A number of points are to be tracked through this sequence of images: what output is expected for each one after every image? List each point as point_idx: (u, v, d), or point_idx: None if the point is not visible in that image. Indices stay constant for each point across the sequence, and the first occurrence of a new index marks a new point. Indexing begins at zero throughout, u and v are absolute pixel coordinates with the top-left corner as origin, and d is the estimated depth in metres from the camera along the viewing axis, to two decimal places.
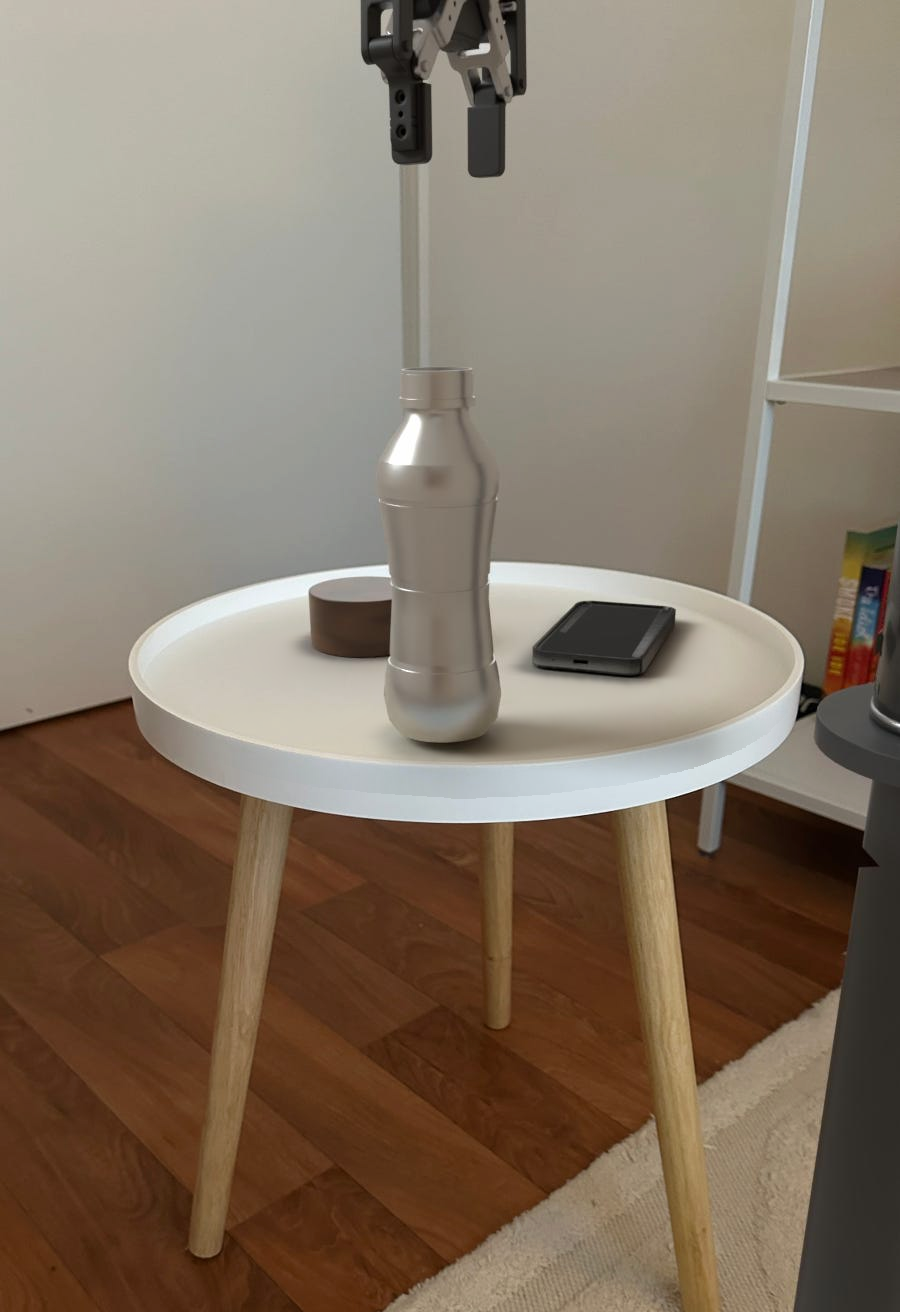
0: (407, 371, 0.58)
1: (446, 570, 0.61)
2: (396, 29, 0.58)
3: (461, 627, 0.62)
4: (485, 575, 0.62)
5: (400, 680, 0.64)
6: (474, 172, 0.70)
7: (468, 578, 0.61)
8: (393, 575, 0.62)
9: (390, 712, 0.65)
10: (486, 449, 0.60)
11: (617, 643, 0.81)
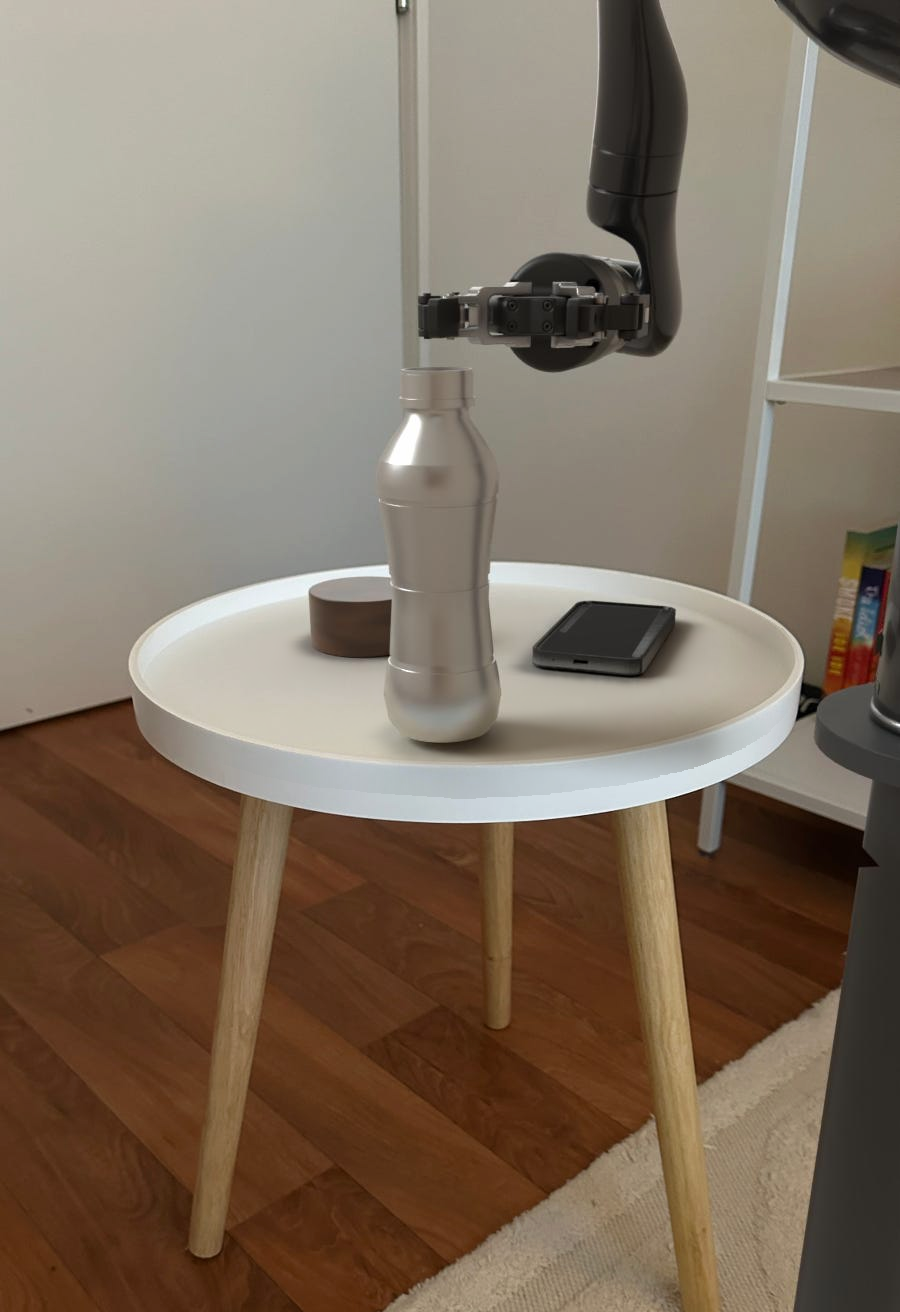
0: (407, 371, 0.58)
1: (446, 570, 0.61)
2: None
3: (461, 627, 0.62)
4: (485, 575, 0.62)
5: (400, 680, 0.64)
6: None
7: (468, 578, 0.61)
8: (393, 575, 0.62)
9: (390, 712, 0.65)
10: (486, 449, 0.60)
11: (617, 643, 0.81)
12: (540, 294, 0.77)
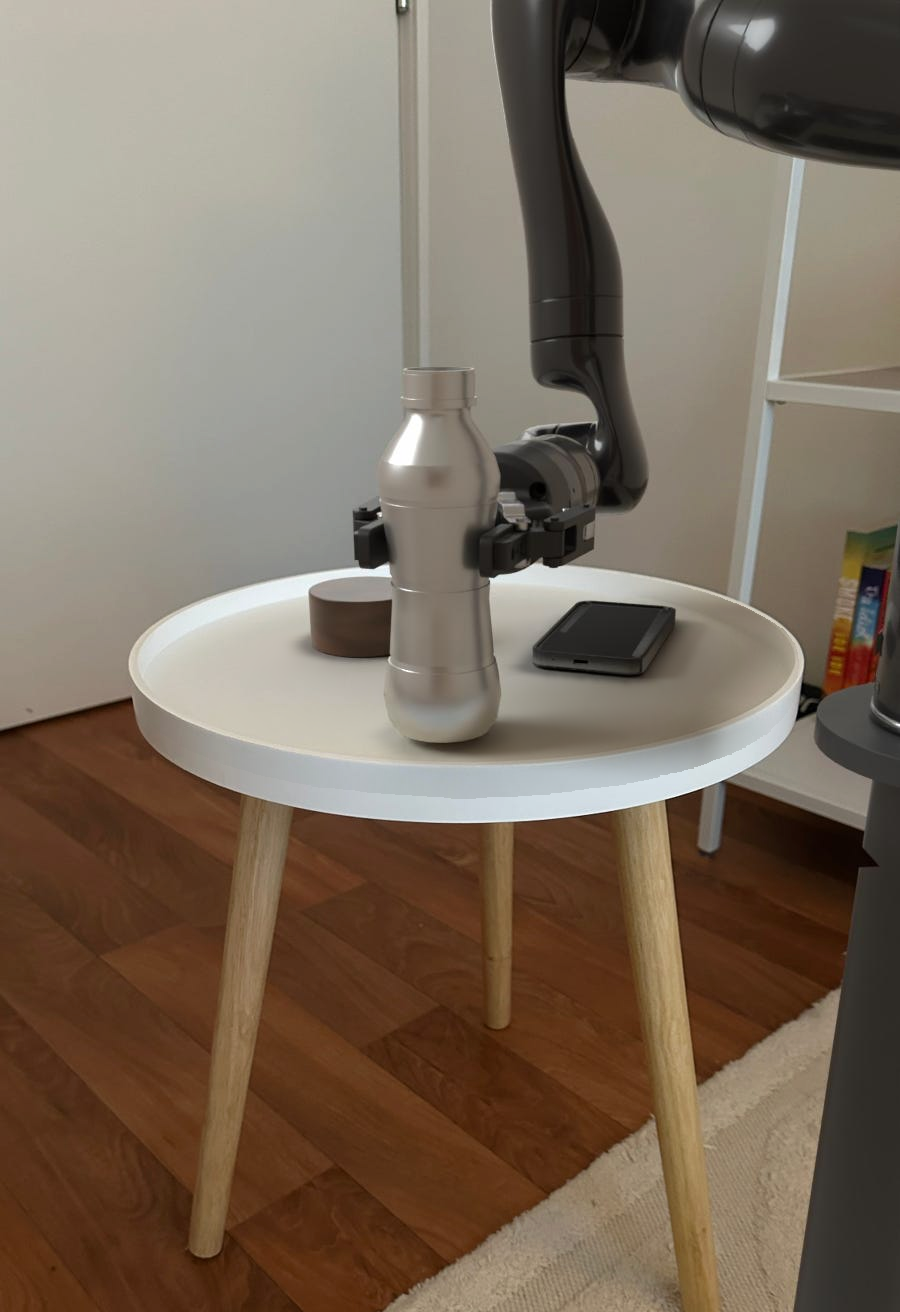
0: (409, 371, 0.58)
1: (446, 571, 0.61)
2: None
3: (461, 627, 0.62)
4: None
5: (400, 680, 0.64)
6: None
7: (469, 578, 0.61)
8: (394, 575, 0.62)
9: (390, 712, 0.65)
10: (487, 449, 0.60)
11: (617, 643, 0.81)
12: None
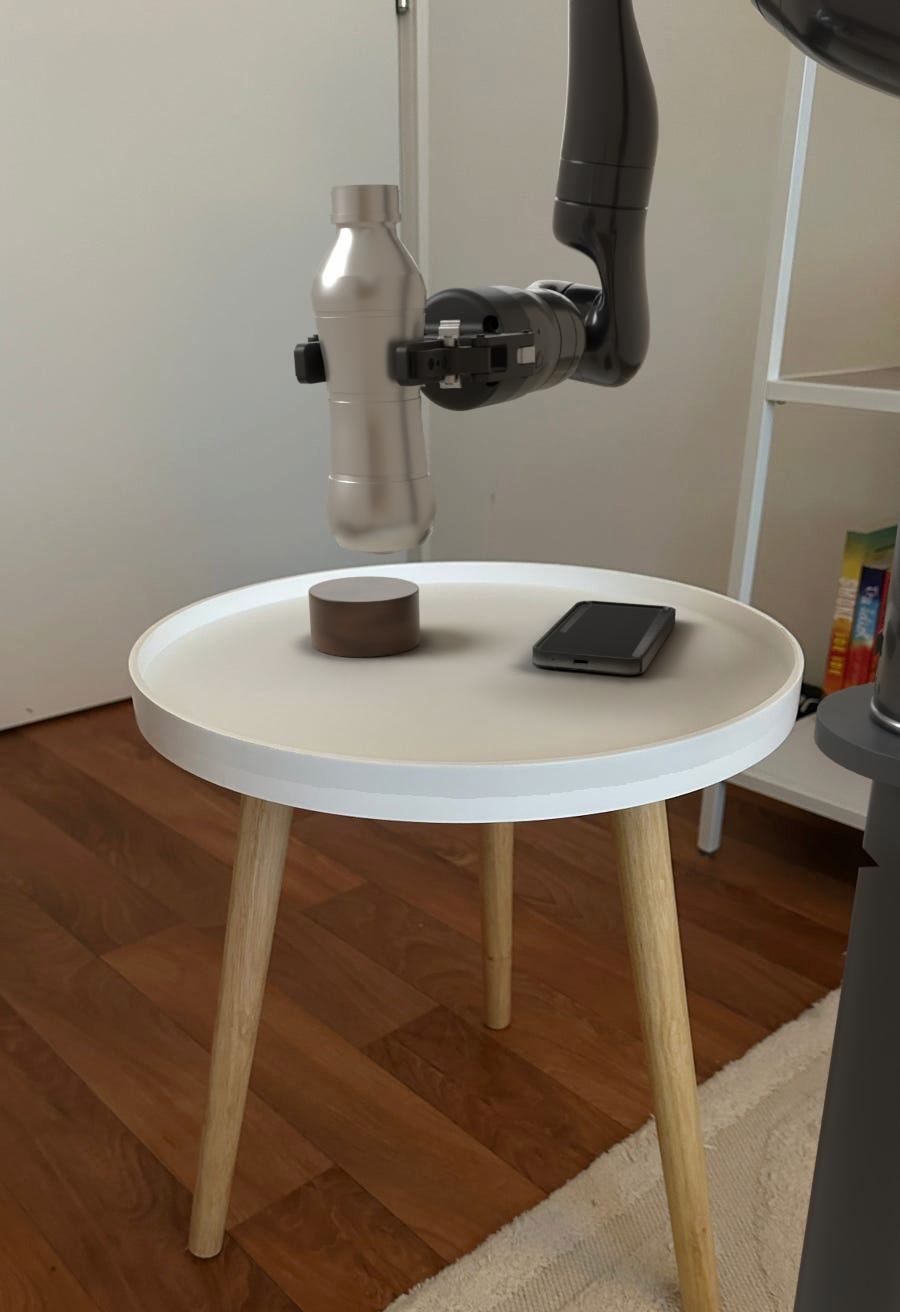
0: (334, 187, 0.63)
1: (370, 381, 0.65)
2: None
3: (387, 438, 0.66)
4: (412, 389, 0.66)
5: (334, 490, 0.68)
6: None
7: (392, 389, 0.65)
8: (328, 388, 0.67)
9: (329, 524, 0.70)
10: (409, 264, 0.64)
11: (617, 643, 0.81)
12: None
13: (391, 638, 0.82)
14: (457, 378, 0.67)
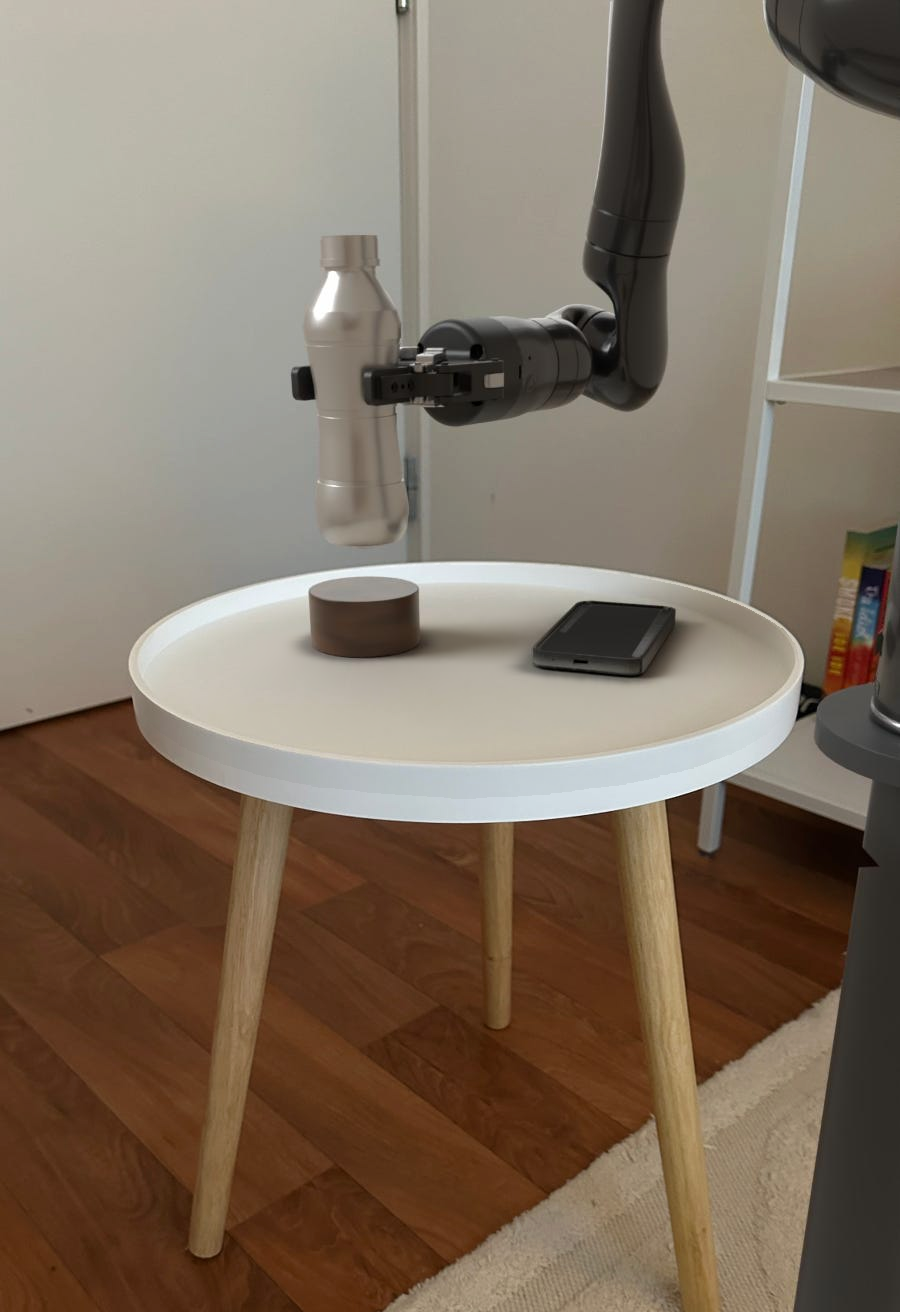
0: (321, 237, 0.74)
1: (345, 400, 0.76)
2: None
3: (360, 449, 0.78)
4: (383, 408, 0.77)
5: (318, 492, 0.80)
6: None
7: (364, 408, 0.77)
8: (316, 405, 0.79)
9: (317, 520, 0.82)
10: (382, 301, 0.75)
11: (617, 643, 0.81)
12: None
13: (391, 638, 0.82)
14: (425, 399, 0.78)
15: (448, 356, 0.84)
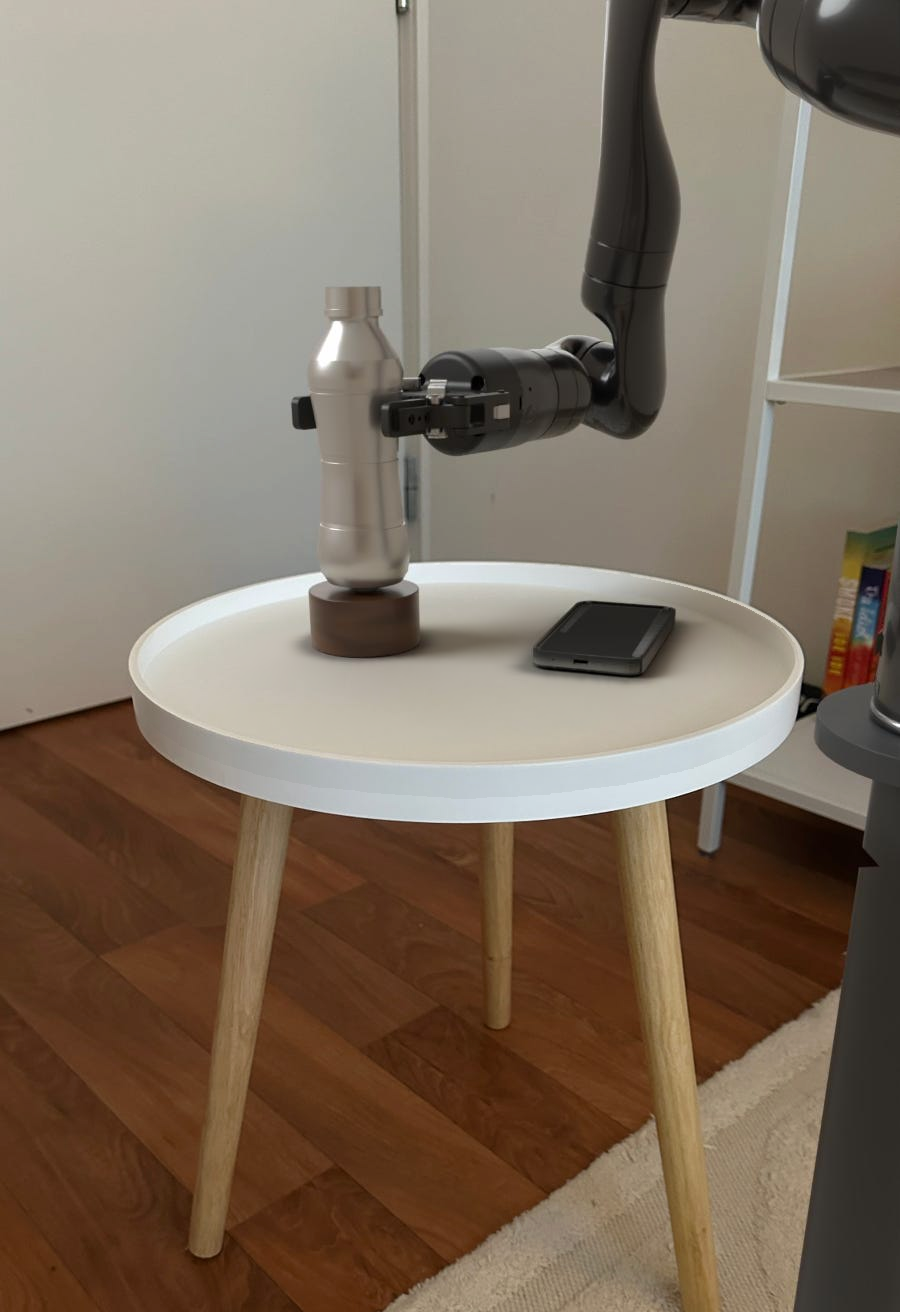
0: (326, 287, 0.76)
1: (348, 446, 0.78)
2: None
3: (362, 493, 0.79)
4: (386, 454, 0.79)
5: (321, 535, 0.81)
6: None
7: (367, 454, 0.78)
8: (319, 450, 0.80)
9: (319, 562, 0.83)
10: (385, 351, 0.76)
11: (617, 643, 0.81)
12: None
13: (391, 638, 0.82)
14: (442, 431, 0.78)
15: (449, 387, 0.85)
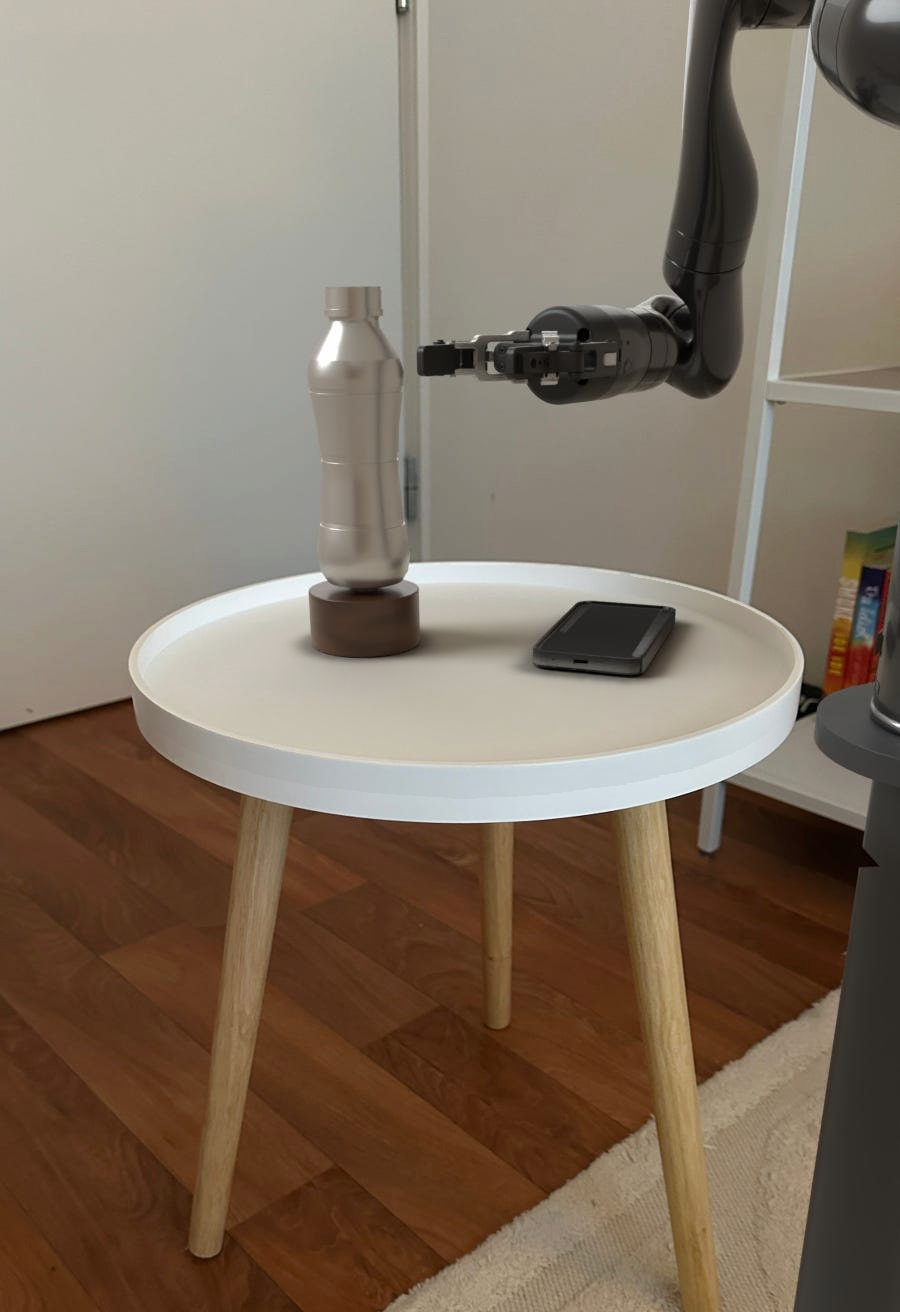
0: (326, 287, 0.76)
1: (348, 446, 0.78)
2: None
3: (362, 493, 0.79)
4: (386, 454, 0.79)
5: (321, 535, 0.81)
6: None
7: (367, 454, 0.78)
8: (319, 450, 0.80)
9: (319, 562, 0.83)
10: (385, 351, 0.76)
11: (617, 643, 0.81)
12: None
13: (391, 638, 0.82)
14: (558, 375, 0.85)
15: None
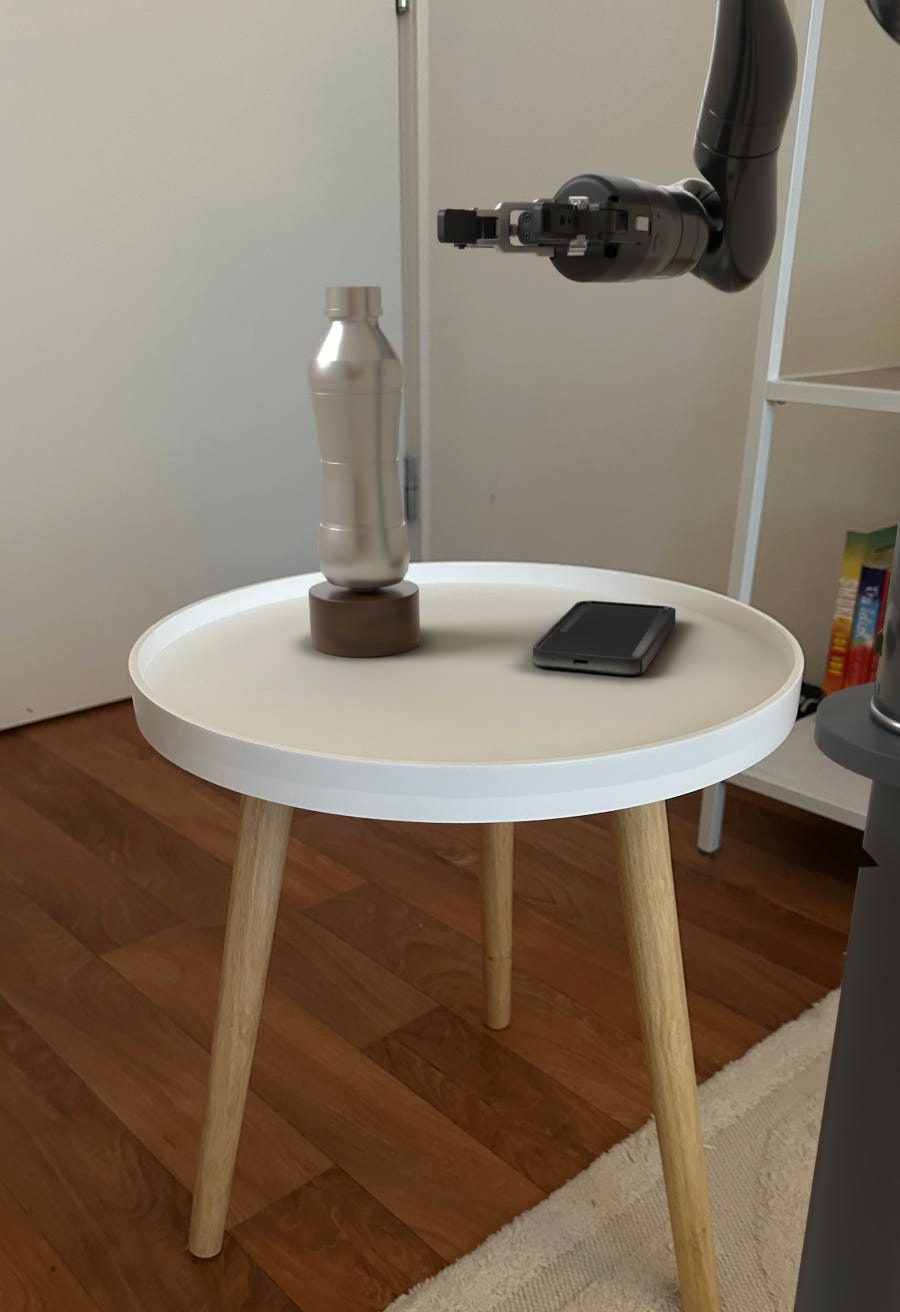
0: (326, 287, 0.76)
1: (348, 446, 0.78)
2: None
3: (362, 493, 0.79)
4: (386, 454, 0.79)
5: (321, 535, 0.81)
6: None
7: (367, 454, 0.78)
8: (319, 450, 0.80)
9: (319, 562, 0.83)
10: (385, 351, 0.76)
11: (617, 643, 0.81)
12: None
13: (391, 638, 0.82)
14: (587, 237, 0.81)
15: None
